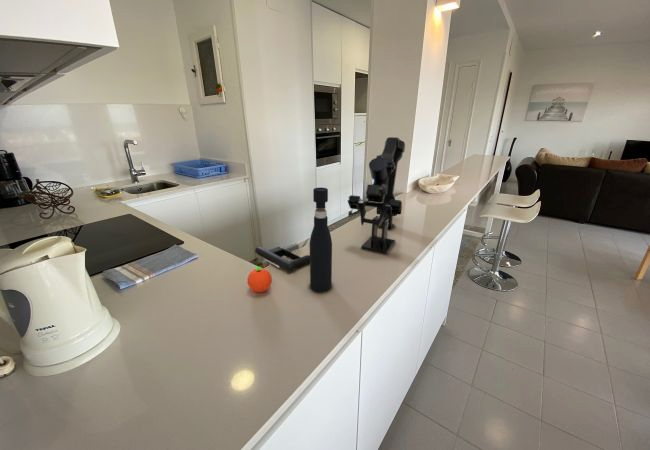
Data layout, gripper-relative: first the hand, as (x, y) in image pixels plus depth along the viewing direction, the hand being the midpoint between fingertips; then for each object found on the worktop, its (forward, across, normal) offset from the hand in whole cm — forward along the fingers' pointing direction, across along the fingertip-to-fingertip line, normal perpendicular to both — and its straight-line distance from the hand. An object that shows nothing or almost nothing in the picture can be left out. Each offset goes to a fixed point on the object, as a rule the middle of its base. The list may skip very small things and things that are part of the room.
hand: (369, 225), depth 95 cm
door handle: (+16, -28, +2) cm, 32 cm away
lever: (-3, +1, +6) cm, 7 cm away
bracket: (0, +1, +18) cm, 18 cm away
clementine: (+31, -25, -12) cm, 42 cm away
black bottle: (+25, -9, -6) cm, 27 cm away
